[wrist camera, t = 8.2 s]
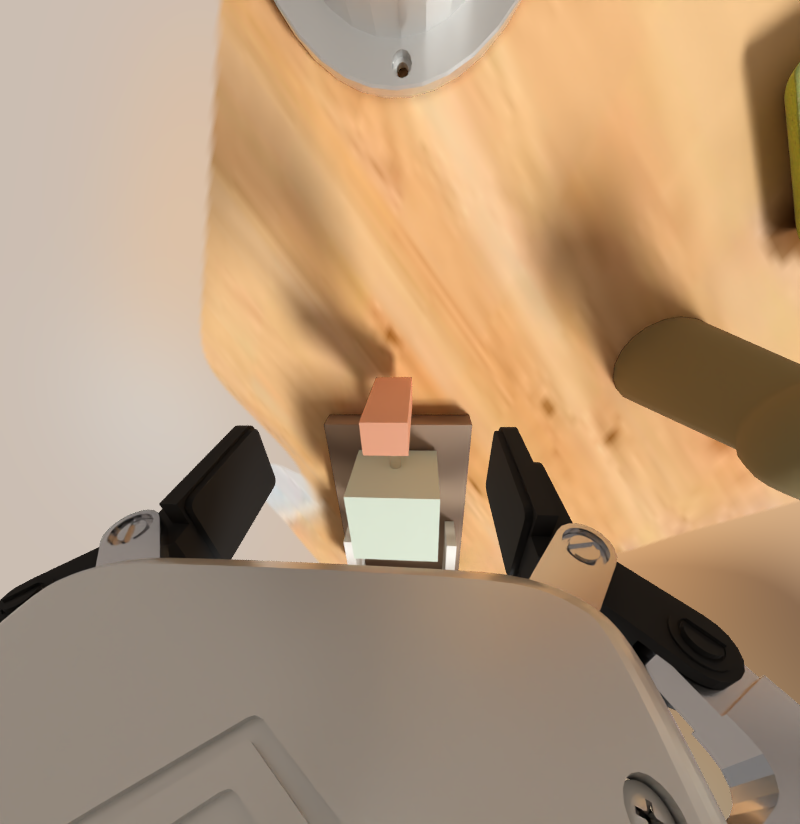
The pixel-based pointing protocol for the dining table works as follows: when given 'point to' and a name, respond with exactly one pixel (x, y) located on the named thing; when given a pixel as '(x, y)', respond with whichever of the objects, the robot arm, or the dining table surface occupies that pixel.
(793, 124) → the green tray
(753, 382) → the cork
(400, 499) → the joined block piece
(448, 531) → the shelf
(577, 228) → the dining table surface
